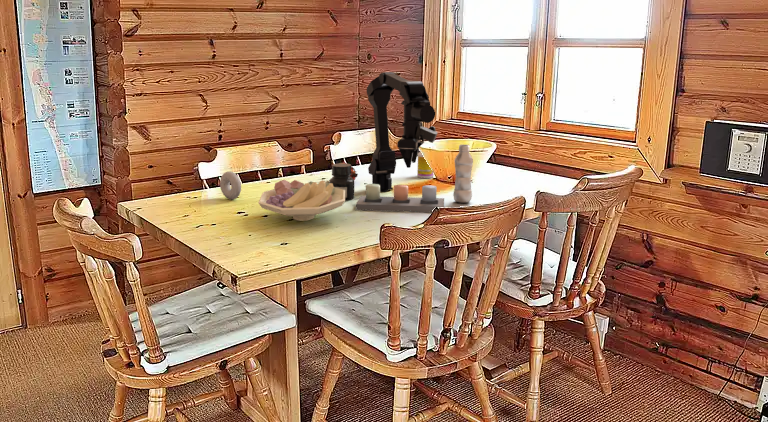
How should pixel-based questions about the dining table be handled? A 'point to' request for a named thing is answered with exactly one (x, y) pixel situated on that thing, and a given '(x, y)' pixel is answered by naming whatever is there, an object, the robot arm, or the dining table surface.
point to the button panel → (398, 204)
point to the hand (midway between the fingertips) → (411, 165)
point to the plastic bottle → (463, 175)
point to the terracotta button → (400, 192)
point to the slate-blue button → (429, 193)
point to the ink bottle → (343, 179)
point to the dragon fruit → (353, 173)
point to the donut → (235, 185)
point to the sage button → (372, 191)
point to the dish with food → (302, 199)
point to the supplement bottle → (424, 166)
